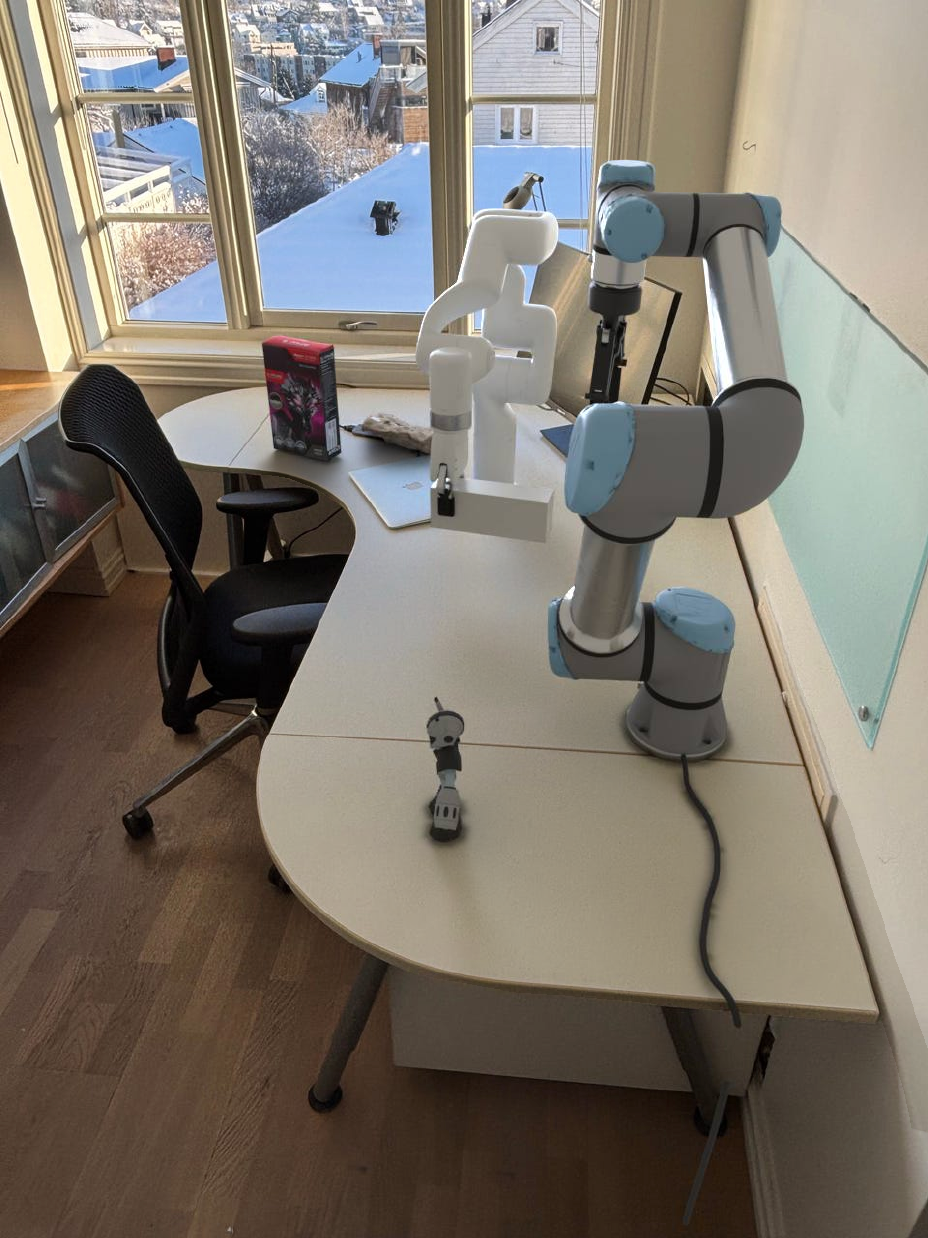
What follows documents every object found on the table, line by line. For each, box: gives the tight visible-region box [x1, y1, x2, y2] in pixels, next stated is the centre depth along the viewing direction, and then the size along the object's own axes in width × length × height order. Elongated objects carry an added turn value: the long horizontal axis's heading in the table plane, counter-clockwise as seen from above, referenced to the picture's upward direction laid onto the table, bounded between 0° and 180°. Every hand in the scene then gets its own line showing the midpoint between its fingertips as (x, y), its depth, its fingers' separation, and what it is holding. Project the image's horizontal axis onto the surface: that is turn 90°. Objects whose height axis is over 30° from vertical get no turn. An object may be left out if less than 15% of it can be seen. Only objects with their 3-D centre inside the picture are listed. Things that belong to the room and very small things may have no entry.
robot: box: [425, 696, 465, 842], centre depth 121 cm, size 20×5×20 cm, turn 3°
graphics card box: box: [261, 334, 342, 462], centre depth 222 cm, size 17×7×27 cm, turn 62°
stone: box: [360, 412, 433, 454], centre depth 233 cm, size 21×15×6 cm
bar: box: [429, 477, 555, 544], centre depth 174 cm, size 22×6×8 cm, turn 75°
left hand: (451, 506), depth 176 cm, fingers closed on bar, 6 cm apart
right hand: (602, 423), depth 143 cm, fingers open, 13 cm apart
